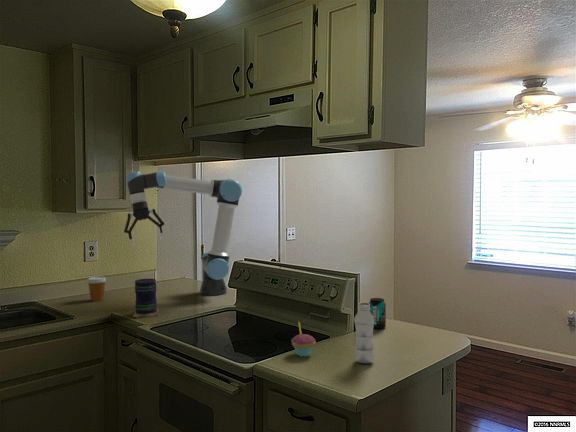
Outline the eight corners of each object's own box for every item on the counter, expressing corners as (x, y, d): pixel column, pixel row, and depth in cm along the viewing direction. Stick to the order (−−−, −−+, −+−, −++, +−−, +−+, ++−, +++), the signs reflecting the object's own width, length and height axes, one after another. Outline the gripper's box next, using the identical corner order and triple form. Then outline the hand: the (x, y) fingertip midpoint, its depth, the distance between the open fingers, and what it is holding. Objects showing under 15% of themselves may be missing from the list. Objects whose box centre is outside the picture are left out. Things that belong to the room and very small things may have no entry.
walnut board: (158, 310, 242) (158, 308, 242) (157, 316, 233) (157, 313, 233) (135, 312, 240) (135, 309, 240) (133, 317, 230) (133, 315, 230)
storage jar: (161, 310, 238) (160, 279, 237) (145, 315, 230) (144, 283, 229) (147, 308, 243) (146, 277, 242) (131, 312, 235) (130, 281, 234)
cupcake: (287, 355, 176) (286, 322, 176) (300, 348, 183) (299, 316, 183) (307, 360, 171) (307, 325, 171) (320, 353, 179) (319, 320, 178)
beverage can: (389, 328, 209) (389, 299, 208) (377, 330, 205) (376, 302, 204) (377, 324, 215) (377, 296, 214) (365, 327, 211) (365, 298, 210)
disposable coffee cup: (107, 301, 265) (106, 278, 264) (87, 302, 262) (87, 280, 261) (106, 297, 274) (105, 275, 273) (87, 299, 270) (87, 277, 270)
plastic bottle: (372, 366, 164) (372, 307, 163) (352, 364, 167) (352, 305, 165) (376, 360, 170) (376, 302, 169) (357, 358, 173) (356, 301, 171)
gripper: (161, 198, 263) (170, 237, 264) (113, 207, 253) (121, 247, 253) (164, 197, 256) (173, 237, 257) (114, 205, 246) (123, 247, 246)
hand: (147, 242), depth 255 cm, fingers open, 13 cm apart
